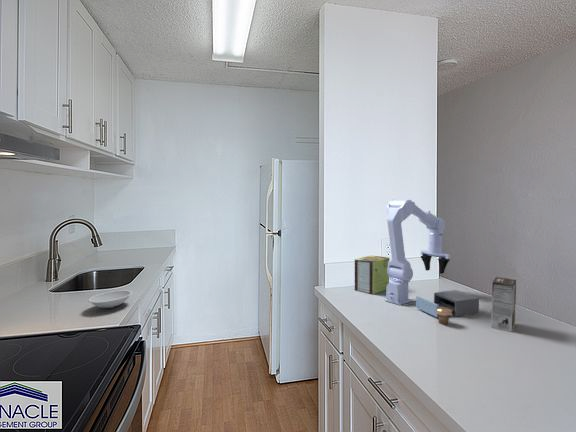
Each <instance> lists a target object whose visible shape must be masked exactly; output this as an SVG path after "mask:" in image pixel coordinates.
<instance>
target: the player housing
mask: <svg viewBox="0 0 576 432" xmlns="http://www.w3.org/2000/svg"><path fill="white" fill-rule="evenodd" d="M433 293H434V294H433V303H435V302H439V301H442V302H444V303H447V304H449V305H452V306H454V307H455V312H454V313H452V315H451V316H453V317H463V316H470V315H477V314H479V313H480V298H479V297H477V296H473V295H471V294H469V293H465V292H461V291H459V290H456V289H455V290H446V291H438V292H437V291H436V292H433Z"/></svg>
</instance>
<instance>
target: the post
mask: <svg viewBox="0 0 576 432" xmlns="http://www.w3.org/2000/svg"><path fill="white" fill-rule="evenodd" d="M449 317H450V316H441V315H438V324H440V325H443V326H447V325H449V322H450V321H449V320H450V318H449Z"/></svg>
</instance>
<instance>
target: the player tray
mask: <svg viewBox="0 0 576 432" xmlns="http://www.w3.org/2000/svg"><path fill="white" fill-rule="evenodd" d="M437 307H447V308H450V309H452V313H454V312H455V307H454V306H452V305H449V304H447V303H444V302H442V301H439V302H435V303H434V301H433V302H432V301H430V300H428V299H426V298H423V297H421V296H419V295H416V296H415V308H416V309H419V310H421V311H423V312H424V313H427V314H429V315H431V316H434V318H435V317H436V318H439V315H438V314H436V308H437Z"/></svg>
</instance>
